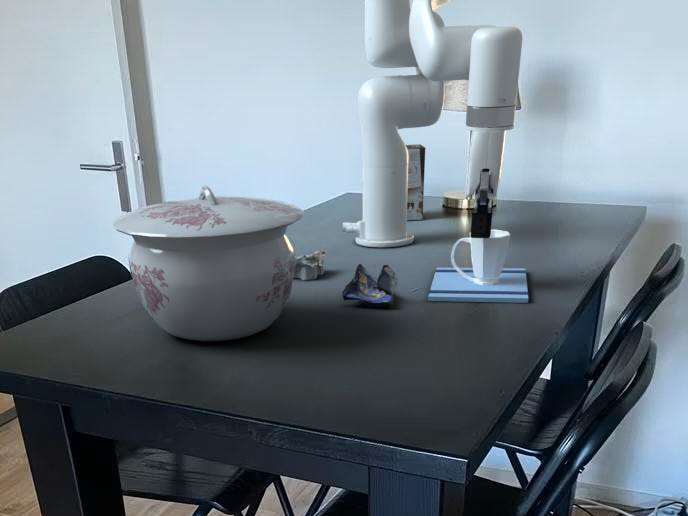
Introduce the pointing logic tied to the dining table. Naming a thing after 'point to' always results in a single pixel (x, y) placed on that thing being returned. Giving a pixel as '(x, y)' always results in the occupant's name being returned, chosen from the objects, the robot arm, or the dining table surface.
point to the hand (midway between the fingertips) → (480, 230)
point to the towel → (479, 287)
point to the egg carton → (309, 265)
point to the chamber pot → (212, 263)
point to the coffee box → (415, 181)
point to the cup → (486, 257)
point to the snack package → (372, 287)
